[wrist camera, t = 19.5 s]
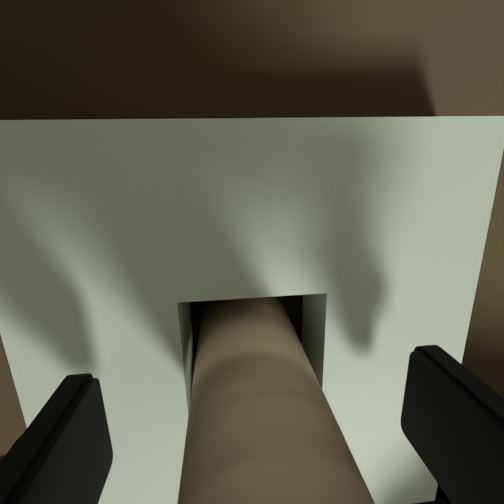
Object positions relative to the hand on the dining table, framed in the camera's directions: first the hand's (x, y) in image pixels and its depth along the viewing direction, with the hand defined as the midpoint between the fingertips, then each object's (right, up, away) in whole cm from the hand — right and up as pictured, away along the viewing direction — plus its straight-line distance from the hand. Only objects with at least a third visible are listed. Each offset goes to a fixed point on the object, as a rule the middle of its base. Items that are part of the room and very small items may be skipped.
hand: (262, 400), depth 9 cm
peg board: (-1, +1, +5) cm, 5 cm away
